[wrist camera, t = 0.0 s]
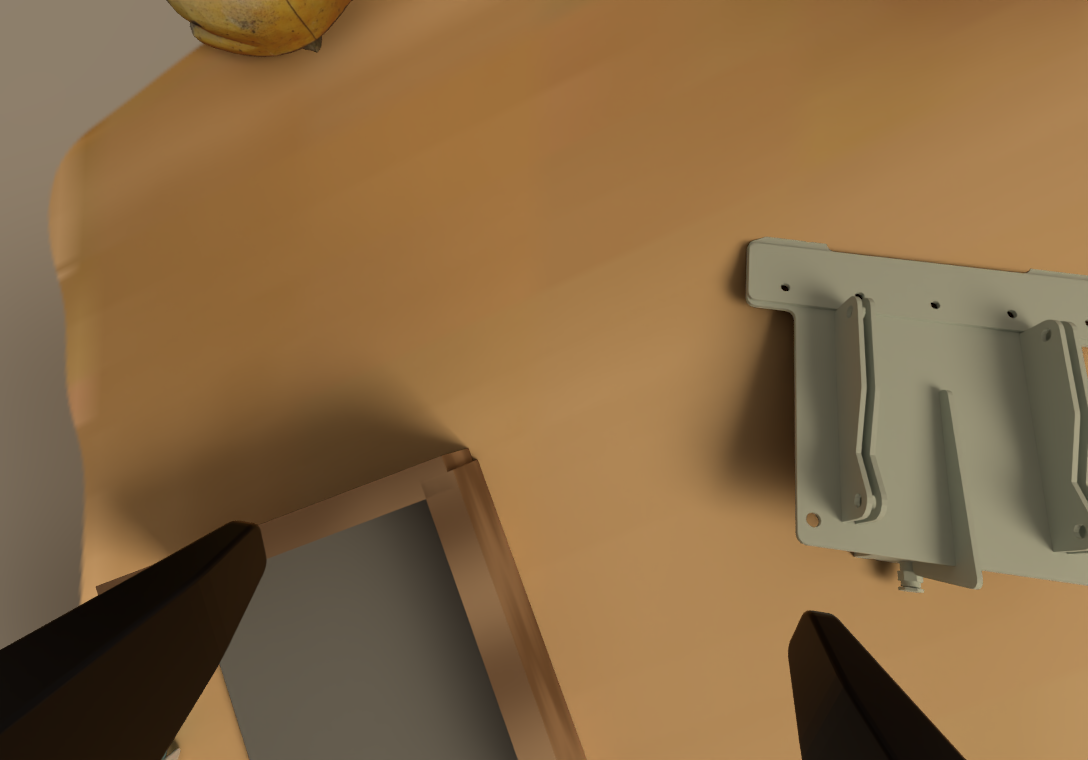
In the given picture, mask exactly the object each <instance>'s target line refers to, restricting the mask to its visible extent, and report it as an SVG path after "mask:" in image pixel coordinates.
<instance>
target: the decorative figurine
mask: <svg viewBox="0 0 1088 760" xmlns="http://www.w3.org/2000/svg"><path fill="white" fill-rule="evenodd" d="M167 1H168V3H169V4H170V5H171V6H172V7H173V8H174V10H175V11H176V12H177V13H178V14H180V15H181V16H182V17H183V18H185V19H186V20H188V21H189V22H190V27H191V30H192V33H193V35H194V37H196V38H197V39H198V40H199V41H201V42H202V43H204V44H206V45H209V46H211V47H214V48H218V49H221V50H225V51H229V52H232V53H236V54H242V55H249V56H261V57H267V56H278V55H283V54H287V53H292V52H294V51H297V50H299V49H302V48H303V49H306V50H312V51H315V52H318V51H319V50H320V48H321V43H322V35H323V34H324V33H325V32H326V31H327V30H328V29H329V28H330V27H331V26H332V25H333V23H334V22H335V21H336V20H337V19H338V17H339V16H340V15H341V14H342V13H343V11H344V10H345V8H346V7H347V5H348V4H349V3H350V2H351V1H352V0H167Z"/></svg>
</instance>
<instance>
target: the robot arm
mask: <svg viewBox="0 0 1088 760" xmlns="http://www.w3.org/2000/svg"><path fill="white" fill-rule="evenodd" d="M266 563H267V557H266V552H265V547H264V543H263V538H262V533H261V529H260V527H259V526H258V525H257V524H255V523H249V522H243V521H232V522H229V523H227V524H225V525H224V526H222V527H220V528H218V529H216V530H215V531H213V532H211V533H209V534H207V535H206V536H204V537H202V538H200V539H198V540H197V541H195V542H193V543H191V544H189V545H188V546H186V547H184V548H182V549H180V550H179V551H177V552H175V553H173V554H172V555H170V556H168V557H166V558H164V559H163V560H161V561H159V562H157V563H155V564H154V565H152V566H150V567H148V568H146V569H145V570H143V571H141V572H139V573H137V574H136V575H134V576H132V577H130V578H128V579H127V580H125V581H123V582H121V583H119V584H118V585H116V586H114V587H112V588H111V589H109V590H107V591H105V592H103V593H102V594H100V595H98V596H96V597H94V598H93V599H91V600H89V601H87V602H85V603H84V604H82V605H80V606H78V607H77V608H75V609H73V610H71V611H70V612H67V613H66V614H64V615H62V616H60V617H59V618H57V619H55V620H53V621H51V622H50V623H48V624H46V625H44V626H42V627H41V628H39V629H37V630H35V631H33V632H32V633H30V634H28V635H26V636H25V637H23V638H21V639H19V640H17V641H15V642H14V643H12V644H10V645H8V646H7V647H5V648H3V649H1V650H0V760H161V759H162V758H163V756H164V754H165V753H166V751H167V750H168V748H169V746H170V745H171V743H172V741H173V740H174V738H175V736H176V735H177V733H178V731H179V730H180V728H181V726H182V725H183V723H184V722H185V720H186V718H187V717H188V715H189V713H190V712H191V710H192V708H193V707H194V705H195V703H196V702H197V700H198V699H199V697H200V695H201V694H202V692H203V690H204V689H205V687H206V685H207V684H208V682H209V680H210V679H211V677H212V675H213V674H214V672H215V670H216V669H217V667H218V665H219V663H220V662H221V660H222V658H223V656H224V654H225V652H226V650H227V648H228V647H229V645H230V642H231V640H232V638H233V636H234V634H235V632H236V630H237V628H238V626H239V624H240V622H241V620H242V618H243V615H244V613H245V611H246V609H247V607H248V605H249V603H250V601H251V599H252V597H253V595H254V593H255V590H256V588H257V586H258V584H259V582H260V580H261V578H262V576H263V574H264V571H265V568H266ZM788 659H789V667H790V675H791V682H792V690H793V698H794V705H795V713H796V720H797V728H798V736H799V743H800V750H801V756H802V760H966V759H965V758H964V757H963V756H962V755H961V754H960V753H959V751H958V750H957V749H956V748H955V747H954V746H953V745H952V744H951V743H950V742H949V740H948V739H947V738H946V737H945V736H944V735H943V734H942V733H941V732H940V731H939V729H938V728H937V727H936V726H935V725H934V724H933V723H932V722H931V721H930V720H929V718H928V717H927V716H926V715H925V714H924V713H923V712H922V711H921V710H920V709H919V707H918V706H917V705H916V704H915V703H914V702H913V701H912V700H911V699H910V697H909V696H908V695H907V694H906V693H905V692H904V691H903V690H902V689H901V688H900V686H899V685H898V684H897V683H896V682H895V681H894V680H893V679H892V678H891V677H890V675H889V674H888V673H887V672H886V671H885V670H884V669H883V668H882V667H881V666H880V664H879V663H878V662H877V661H876V660H875V659H874V658H873V657H872V656H871V655H870V653H869V652H868V651H867V650H866V649H865V648H864V647H863V646H862V645H861V644H860V642H859V641H858V640H857V639H856V638H855V637H854V636H853V635H852V634H851V633H850V631H849V630H848V629H847V628H846V627H845V626H844V625H843V624H842V623H841V621H840V620H839V619H838V618H837V617H835V616H834V615H832V614H830V613H824V612H818V611H811V610H809V611H806V612H804V613H803V615H802V617H801V619H800V621H799V623H798V625H797V627H796V630H795V632H794V634H793V636H792V638H791V640H790V643H789V648H788Z"/></svg>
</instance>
